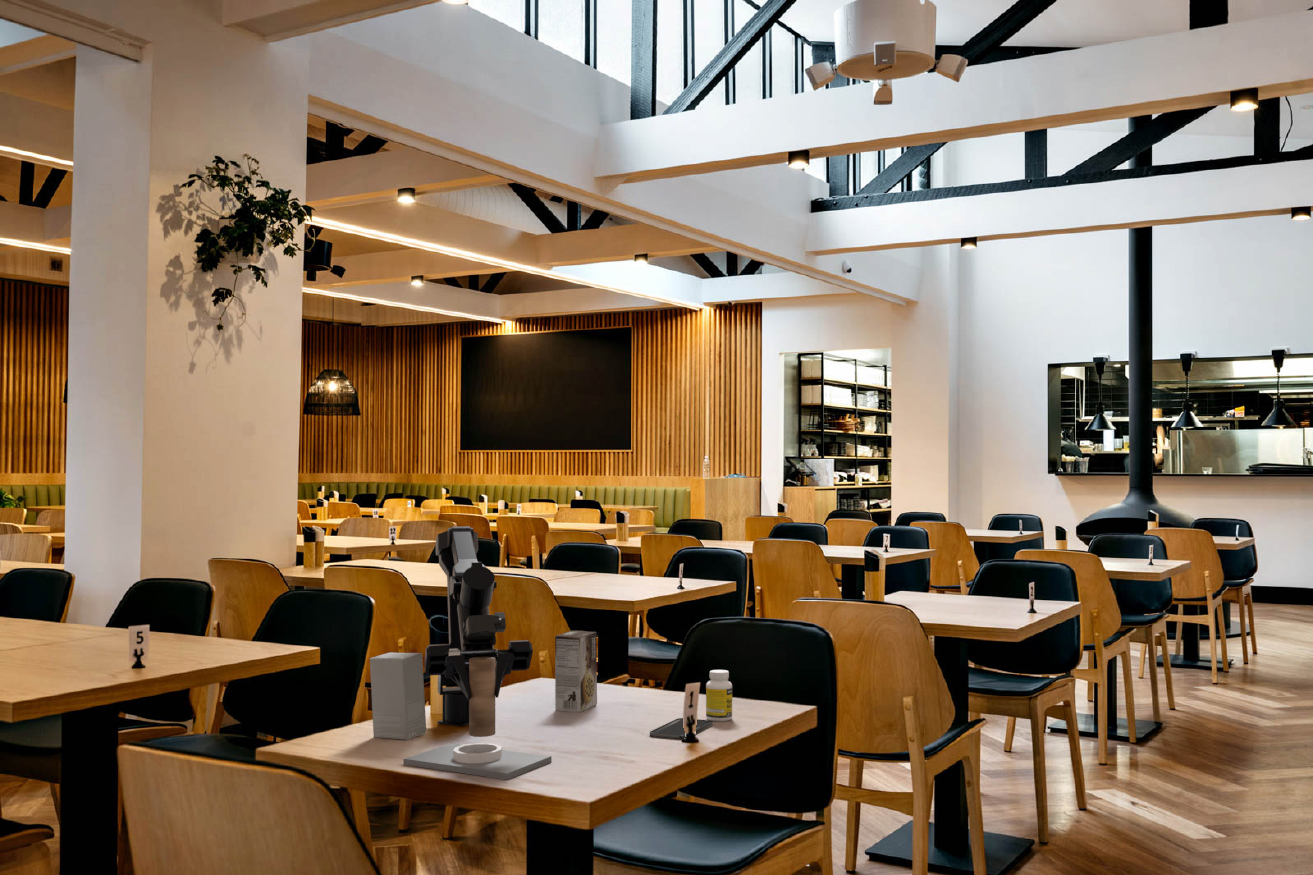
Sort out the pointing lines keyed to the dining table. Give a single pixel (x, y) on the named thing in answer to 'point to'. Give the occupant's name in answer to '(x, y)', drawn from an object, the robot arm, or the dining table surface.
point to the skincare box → (398, 695)
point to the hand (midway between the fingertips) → (483, 697)
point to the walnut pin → (482, 696)
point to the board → (480, 769)
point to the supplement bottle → (719, 696)
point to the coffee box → (575, 671)
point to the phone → (678, 729)
